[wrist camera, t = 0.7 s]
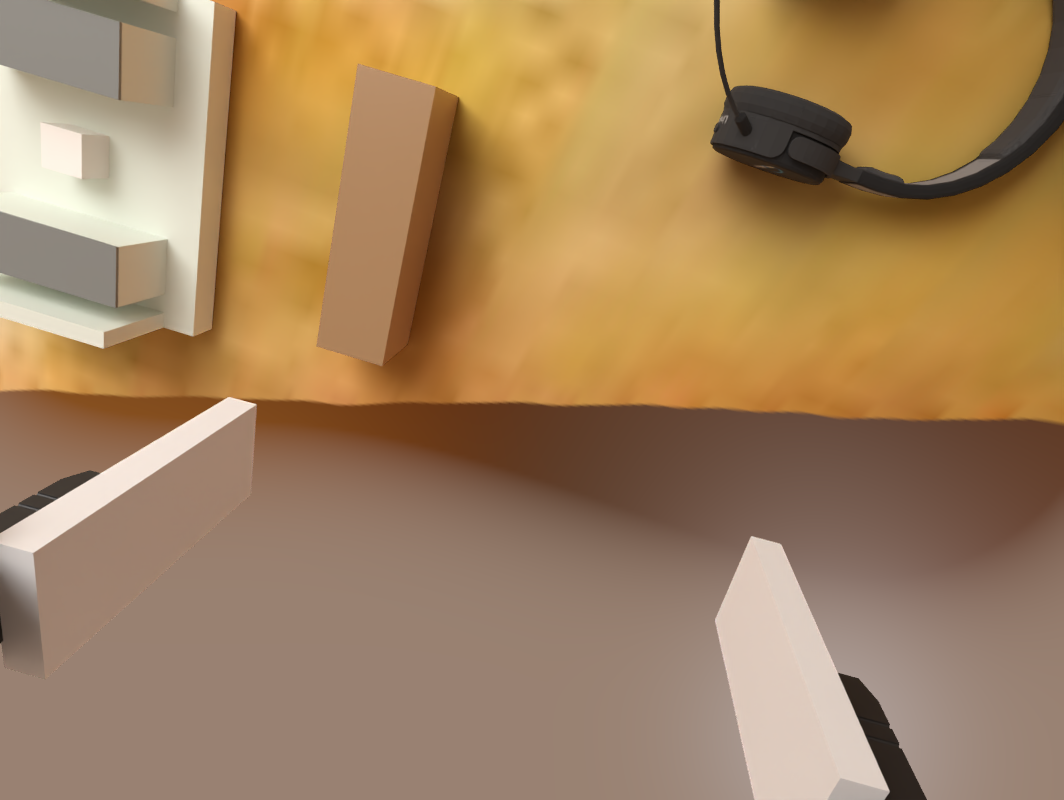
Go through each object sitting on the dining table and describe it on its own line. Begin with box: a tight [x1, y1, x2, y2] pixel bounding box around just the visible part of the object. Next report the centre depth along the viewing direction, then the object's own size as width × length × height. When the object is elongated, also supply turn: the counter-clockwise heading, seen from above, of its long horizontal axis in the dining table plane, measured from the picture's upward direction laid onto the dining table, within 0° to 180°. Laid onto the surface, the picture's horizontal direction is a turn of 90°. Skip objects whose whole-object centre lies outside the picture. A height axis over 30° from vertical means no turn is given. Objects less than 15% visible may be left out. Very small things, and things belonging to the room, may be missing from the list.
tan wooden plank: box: [317, 64, 459, 366], centre depth 35 cm, size 15×4×5 cm, turn 164°
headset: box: [710, 0, 1064, 199], centre depth 28 cm, size 14×10×20 cm
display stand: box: [0, 0, 236, 349], centre depth 35 cm, size 19×14×7 cm
